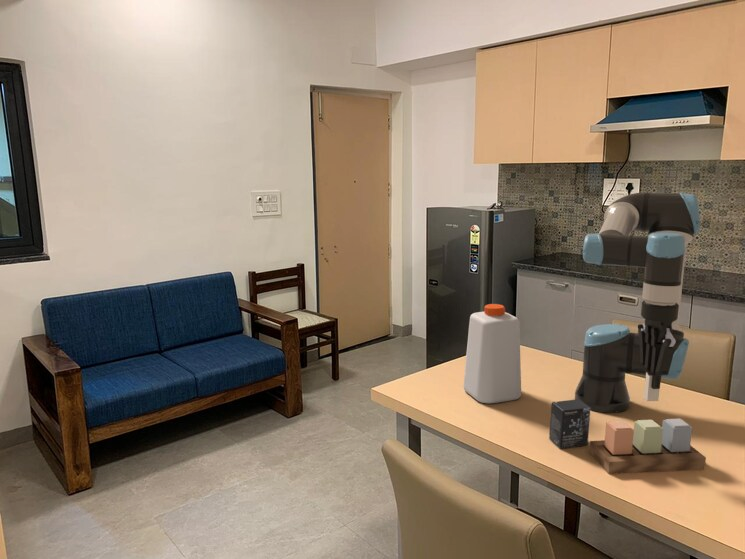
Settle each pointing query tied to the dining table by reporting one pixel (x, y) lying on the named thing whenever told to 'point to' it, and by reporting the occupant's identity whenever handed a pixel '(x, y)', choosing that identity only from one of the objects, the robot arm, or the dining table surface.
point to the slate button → (676, 435)
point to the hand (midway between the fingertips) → (651, 399)
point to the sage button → (647, 436)
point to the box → (569, 423)
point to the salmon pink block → (618, 437)
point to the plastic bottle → (493, 356)
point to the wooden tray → (646, 460)
